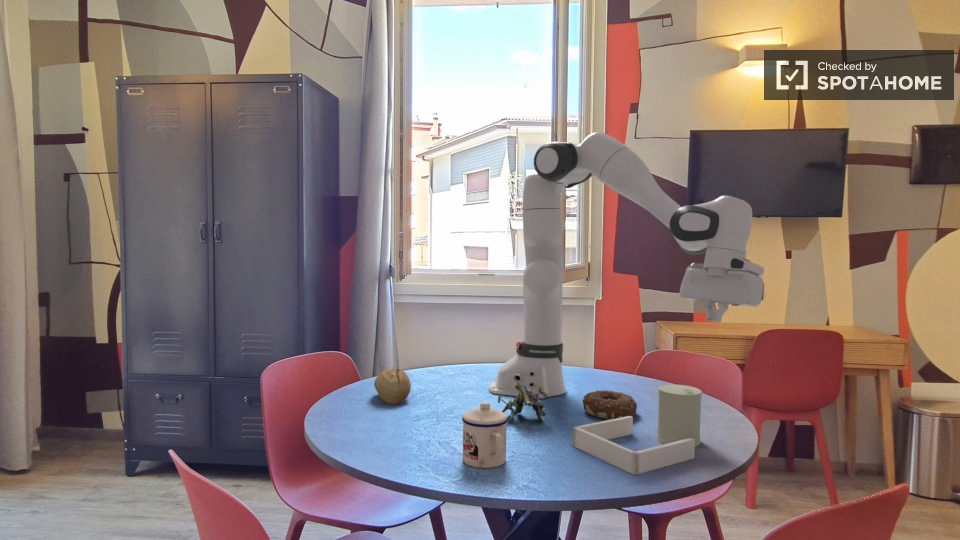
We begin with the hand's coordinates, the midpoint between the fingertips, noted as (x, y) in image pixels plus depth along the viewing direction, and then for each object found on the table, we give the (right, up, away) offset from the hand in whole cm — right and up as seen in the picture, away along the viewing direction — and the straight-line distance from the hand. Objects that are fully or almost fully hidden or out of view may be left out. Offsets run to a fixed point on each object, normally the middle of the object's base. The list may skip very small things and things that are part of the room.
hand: (713, 321), depth 137 cm
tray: (-23, -26, -15) cm, 38 cm away
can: (-11, -26, -7) cm, 29 cm away
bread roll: (-79, -24, +23) cm, 86 cm away
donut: (-22, -25, +12) cm, 35 cm away
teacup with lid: (-53, -26, -22) cm, 63 cm away
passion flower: (-44, -25, +5) cm, 51 cm away
